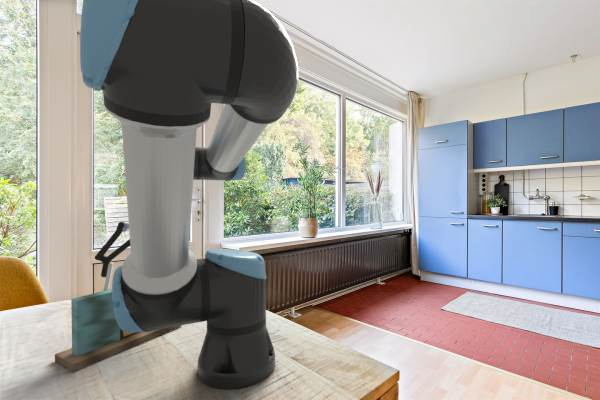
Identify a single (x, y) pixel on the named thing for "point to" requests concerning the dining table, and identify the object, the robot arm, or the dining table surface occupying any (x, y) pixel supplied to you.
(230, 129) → the robot arm
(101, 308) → the ticket stand
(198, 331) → the dining table surface
